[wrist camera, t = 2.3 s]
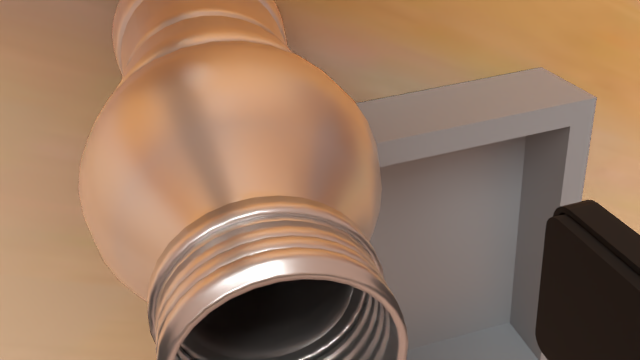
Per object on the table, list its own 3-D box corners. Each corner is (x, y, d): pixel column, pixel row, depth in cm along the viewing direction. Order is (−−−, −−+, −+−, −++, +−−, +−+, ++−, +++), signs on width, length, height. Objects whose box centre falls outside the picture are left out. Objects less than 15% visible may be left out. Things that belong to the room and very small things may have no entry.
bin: (197, 134, 28) (205, 179, 24) (541, 67, 31) (596, 97, 27) (255, 392, 37) (268, 454, 33) (517, 321, 40) (556, 370, 36)
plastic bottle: (251, 110, 28) (409, 507, 11) (101, 76, 26) (7, 521, 9) (292, -26, 25) (578, 218, 9) (130, -78, 23) (79, 118, 6)
